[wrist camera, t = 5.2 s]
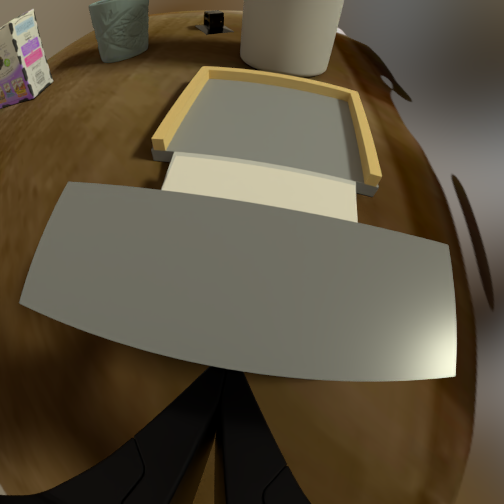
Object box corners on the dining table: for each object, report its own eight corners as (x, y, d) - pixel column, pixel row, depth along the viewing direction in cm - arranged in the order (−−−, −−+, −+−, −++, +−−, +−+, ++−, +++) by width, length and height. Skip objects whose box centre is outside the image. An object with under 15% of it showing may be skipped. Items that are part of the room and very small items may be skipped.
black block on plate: (189, 27, 42) (189, 9, 38) (221, 23, 44) (222, 6, 40) (204, 39, 37) (204, 18, 33) (242, 35, 39) (243, 15, 35)
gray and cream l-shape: (337, 379, 14) (455, 376, 5) (129, 344, 14) (18, 303, 5) (344, 203, 19) (401, 100, 10) (180, 176, 19) (159, 59, 10)
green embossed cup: (105, 51, 35) (97, 0, 24) (156, 39, 36) (152, -13, 26) (92, 70, 30) (80, 10, 19) (151, 55, 32) (145, -9, 21)
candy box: (55, 81, 30) (35, 6, 15) (34, 100, 27) (8, 21, 12) (16, 92, 30) (-5, 31, 15) (-3, 110, 27) (-27, 47, 13)
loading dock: (374, 261, 18) (396, 240, 16) (130, 220, 18) (117, 193, 16) (351, 113, 27) (359, 92, 25) (201, 88, 27) (200, 66, 25)
